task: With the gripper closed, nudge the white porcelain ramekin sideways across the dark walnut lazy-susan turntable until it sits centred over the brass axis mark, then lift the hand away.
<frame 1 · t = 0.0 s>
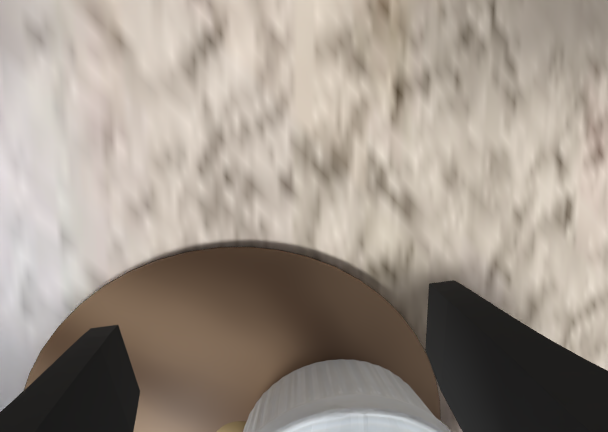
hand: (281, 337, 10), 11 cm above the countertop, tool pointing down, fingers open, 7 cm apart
ramekin: (332, 427, 23), resting on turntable
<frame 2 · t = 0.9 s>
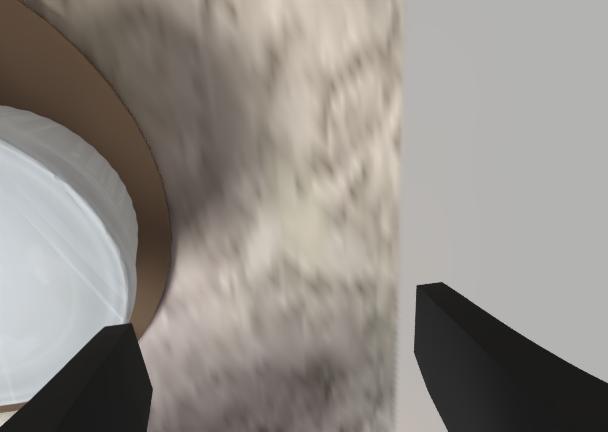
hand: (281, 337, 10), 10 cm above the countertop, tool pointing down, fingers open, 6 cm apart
ramekin: (25, 212, 19), resting on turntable
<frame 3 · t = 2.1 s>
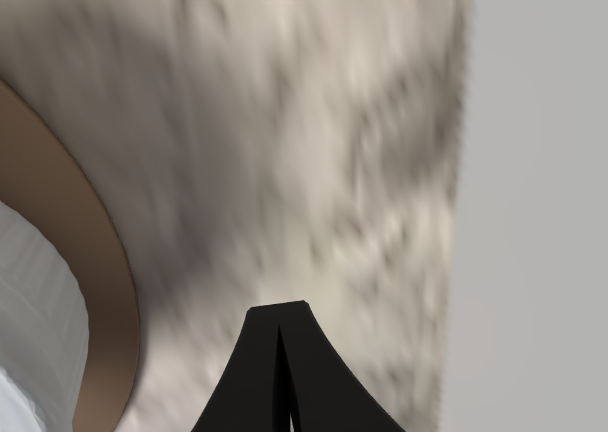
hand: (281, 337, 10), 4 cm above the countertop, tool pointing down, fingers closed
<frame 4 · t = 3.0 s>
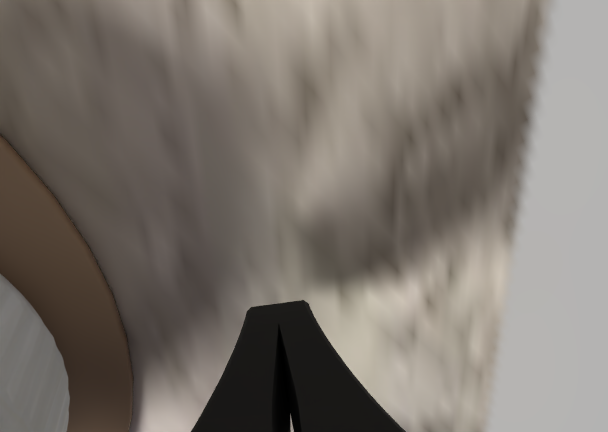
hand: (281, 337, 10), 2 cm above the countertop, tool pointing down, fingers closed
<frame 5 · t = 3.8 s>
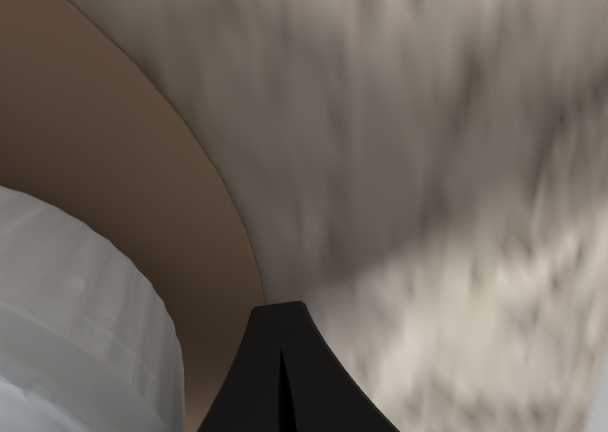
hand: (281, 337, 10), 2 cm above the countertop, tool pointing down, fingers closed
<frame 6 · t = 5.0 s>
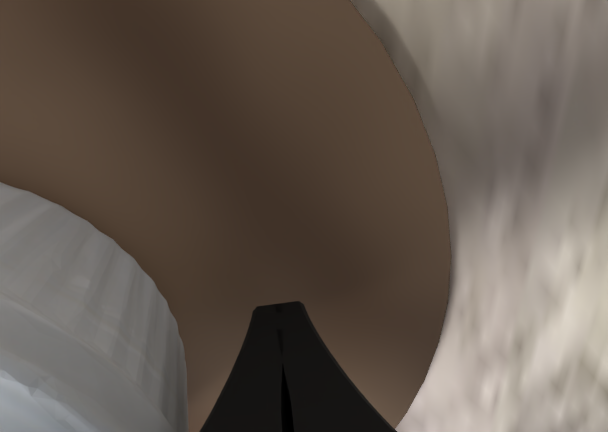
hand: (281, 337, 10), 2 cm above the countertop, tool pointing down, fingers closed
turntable: (11, 360, 10), point 1 cm above the countertop, hinge at 0.0°, touching ramekin
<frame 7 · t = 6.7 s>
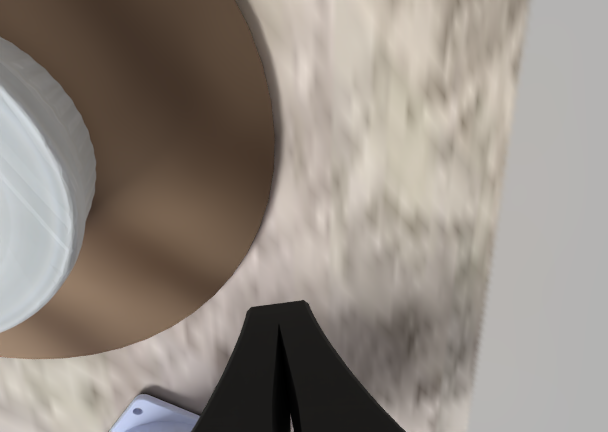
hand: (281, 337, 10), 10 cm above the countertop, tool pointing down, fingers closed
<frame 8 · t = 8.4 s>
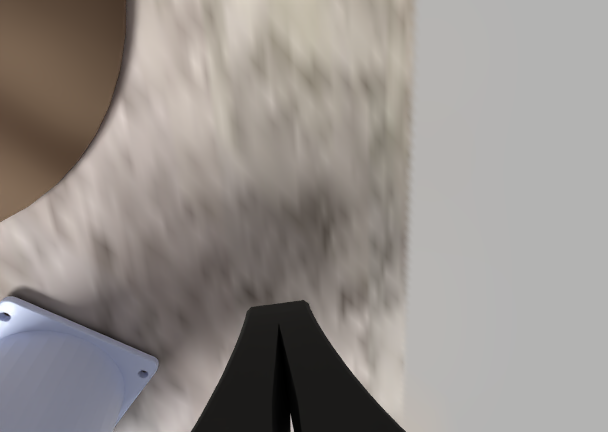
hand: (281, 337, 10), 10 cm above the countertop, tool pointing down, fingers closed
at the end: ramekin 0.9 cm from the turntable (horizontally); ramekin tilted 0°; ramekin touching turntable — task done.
